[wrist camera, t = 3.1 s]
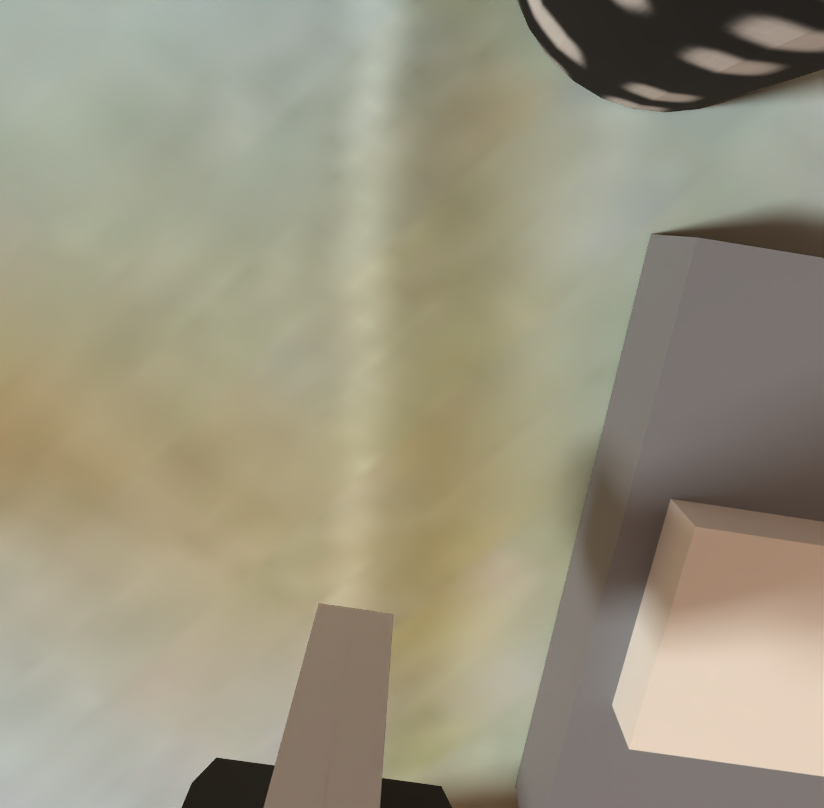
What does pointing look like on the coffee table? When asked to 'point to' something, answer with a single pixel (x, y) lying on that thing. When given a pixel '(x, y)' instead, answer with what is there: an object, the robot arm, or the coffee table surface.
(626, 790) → the grey flat box
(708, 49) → the spotted tube
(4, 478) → the coffee table surface
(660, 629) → the block
